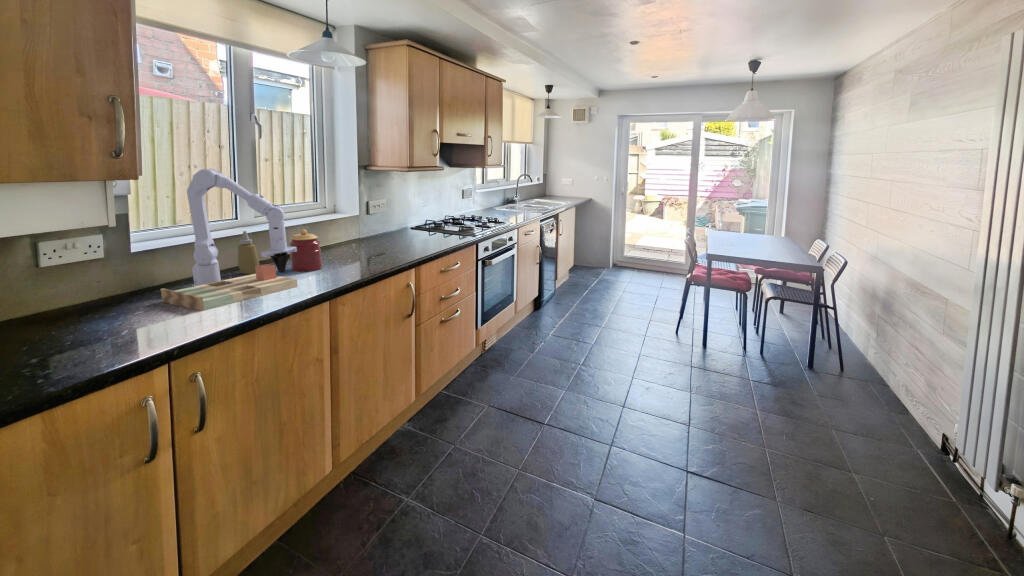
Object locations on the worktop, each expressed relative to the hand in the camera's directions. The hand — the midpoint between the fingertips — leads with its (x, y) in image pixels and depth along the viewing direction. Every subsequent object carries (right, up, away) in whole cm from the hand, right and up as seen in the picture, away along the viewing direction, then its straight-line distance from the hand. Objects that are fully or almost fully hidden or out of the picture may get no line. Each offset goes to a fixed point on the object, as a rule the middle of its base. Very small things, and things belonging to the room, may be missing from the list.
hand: (281, 272), depth 197 cm
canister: (0, +2, +25) cm, 25 cm away
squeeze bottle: (-21, 0, +16) cm, 27 cm away
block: (-3, -3, -6) cm, 7 cm away
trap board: (-9, -8, -16) cm, 20 cm away
